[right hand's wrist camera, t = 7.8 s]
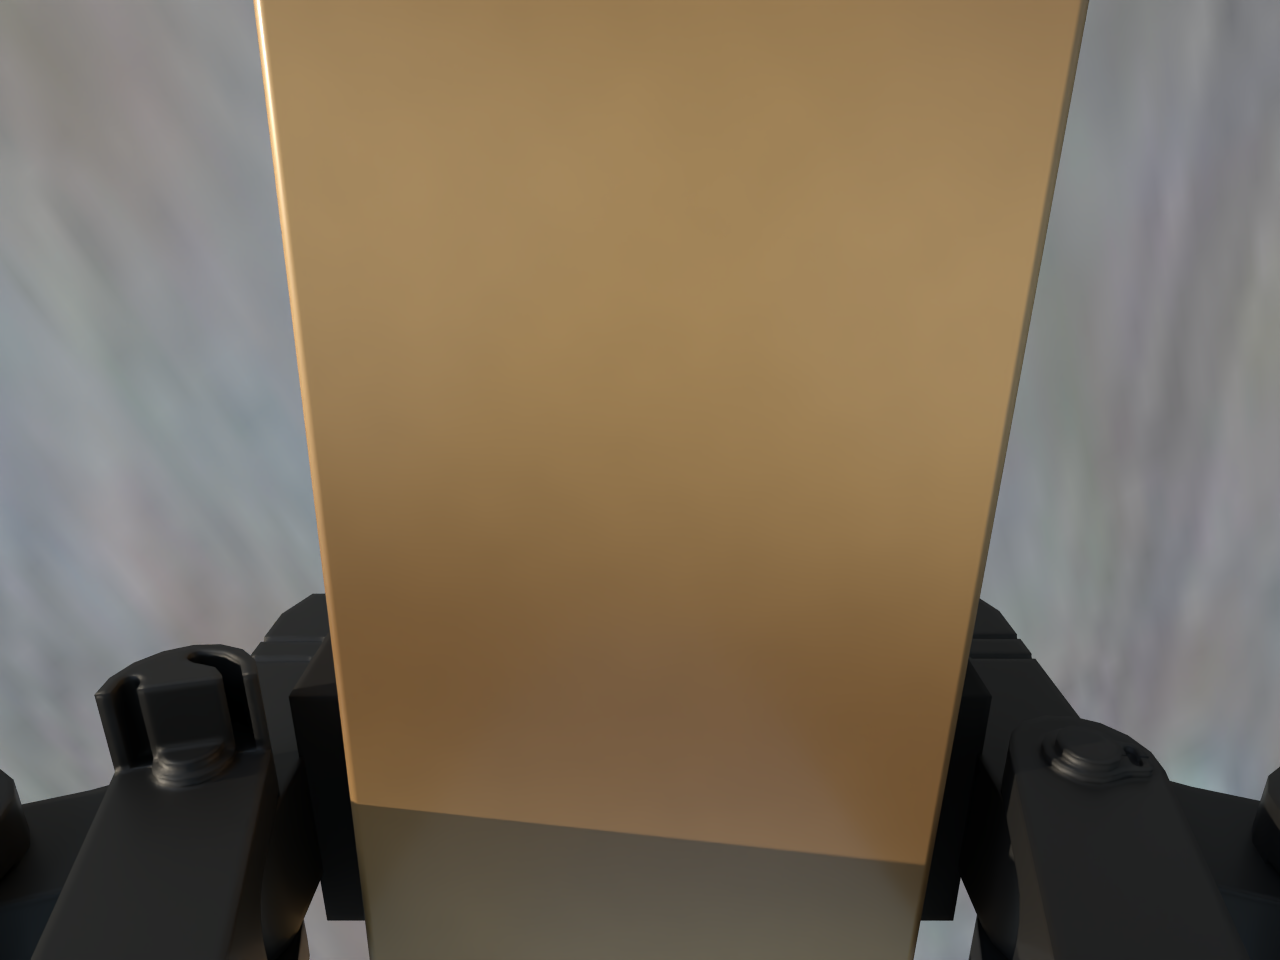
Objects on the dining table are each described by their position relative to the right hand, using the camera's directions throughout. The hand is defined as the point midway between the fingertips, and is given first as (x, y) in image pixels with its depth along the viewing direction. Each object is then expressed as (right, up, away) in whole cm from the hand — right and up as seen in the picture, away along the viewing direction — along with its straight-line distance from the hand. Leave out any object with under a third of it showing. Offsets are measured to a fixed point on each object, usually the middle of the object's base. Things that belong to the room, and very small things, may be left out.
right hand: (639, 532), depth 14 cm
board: (0, -24, +10) cm, 26 cm away
